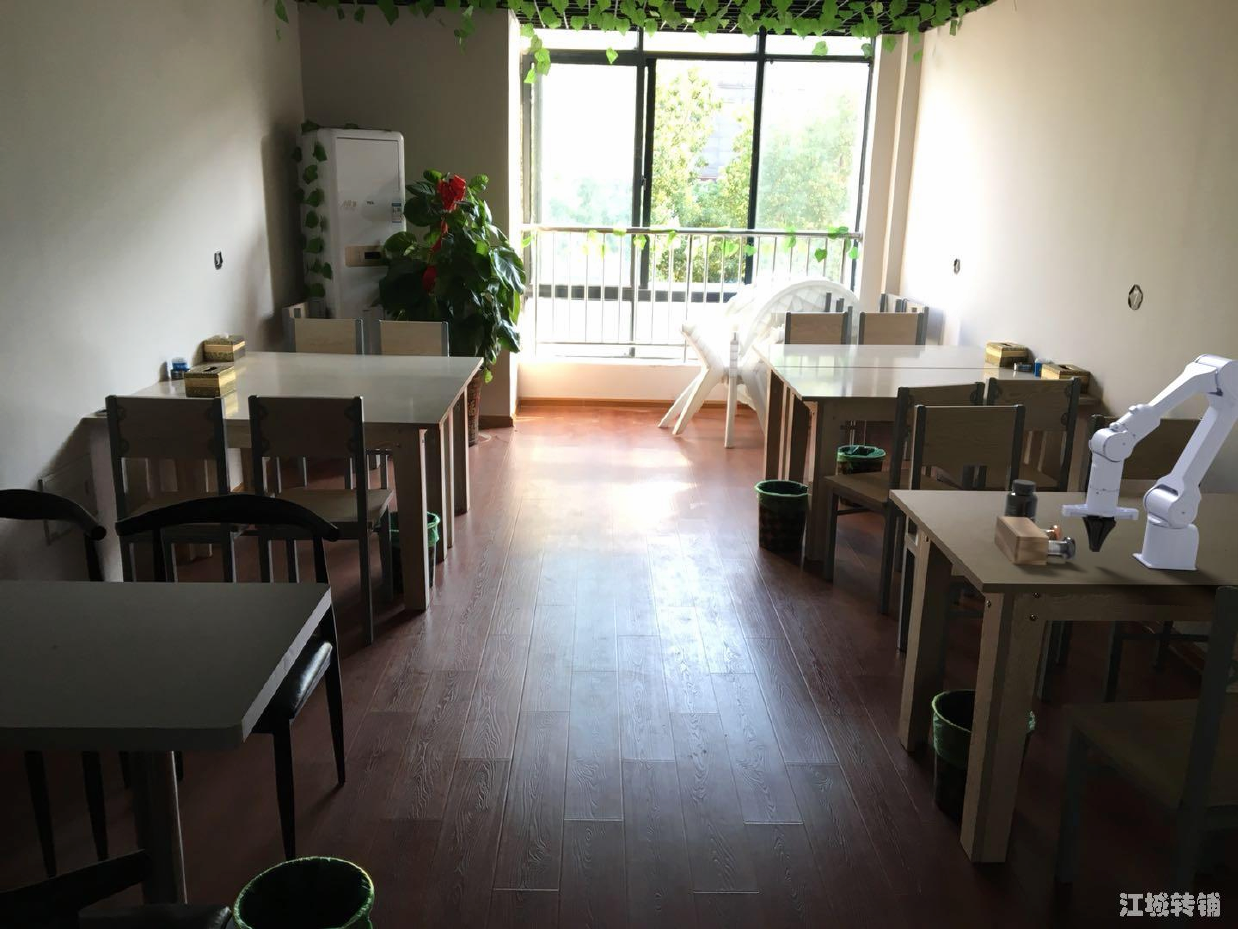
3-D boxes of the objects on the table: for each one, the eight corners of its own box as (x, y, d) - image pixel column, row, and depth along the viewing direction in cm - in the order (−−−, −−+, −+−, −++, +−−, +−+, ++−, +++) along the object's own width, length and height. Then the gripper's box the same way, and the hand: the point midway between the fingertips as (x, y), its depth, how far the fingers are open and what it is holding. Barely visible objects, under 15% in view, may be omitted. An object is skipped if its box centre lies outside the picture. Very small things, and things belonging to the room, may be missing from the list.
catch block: (1024, 543, 217) (1027, 517, 216) (1045, 565, 204) (1049, 537, 202) (994, 542, 218) (997, 516, 216) (1013, 563, 204) (1017, 536, 203)
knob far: (1052, 542, 216) (1055, 522, 215) (1060, 549, 212) (1063, 529, 211) (1021, 541, 217) (1023, 521, 215) (1027, 548, 212) (1030, 527, 211)
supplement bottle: (1036, 538, 221) (1043, 487, 218) (1004, 536, 222) (1011, 484, 219) (1030, 529, 228) (1037, 479, 225) (999, 527, 229) (1005, 477, 226)
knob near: (1065, 555, 208) (1068, 534, 207) (1073, 562, 204) (1076, 541, 203) (1032, 553, 209) (1035, 532, 208) (1040, 560, 204) (1042, 539, 203)
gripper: (1074, 491, 199) (1065, 554, 202) (1149, 494, 198) (1138, 558, 201) (1062, 482, 205) (1053, 543, 209) (1134, 485, 204) (1124, 547, 208)
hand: (1094, 550), depth 205 cm, fingers closed
